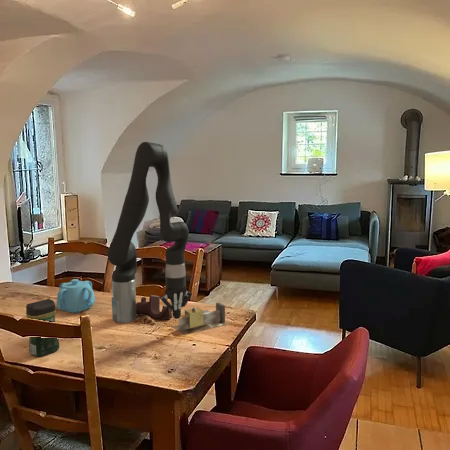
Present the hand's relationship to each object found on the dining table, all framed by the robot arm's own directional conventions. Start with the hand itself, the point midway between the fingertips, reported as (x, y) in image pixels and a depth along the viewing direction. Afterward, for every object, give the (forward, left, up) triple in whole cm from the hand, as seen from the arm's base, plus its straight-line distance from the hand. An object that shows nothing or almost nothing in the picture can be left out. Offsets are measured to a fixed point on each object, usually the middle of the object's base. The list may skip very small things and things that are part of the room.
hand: (176, 318), depth 177 cm
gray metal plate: (+17, +11, -6) cm, 22 cm away
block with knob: (+7, 0, -4) cm, 9 cm away
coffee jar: (-47, +11, -6) cm, 48 cm away
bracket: (0, +21, -7) cm, 22 cm away
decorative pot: (-26, +49, -6) cm, 56 cm away
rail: (+10, 0, -6) cm, 12 cm away
